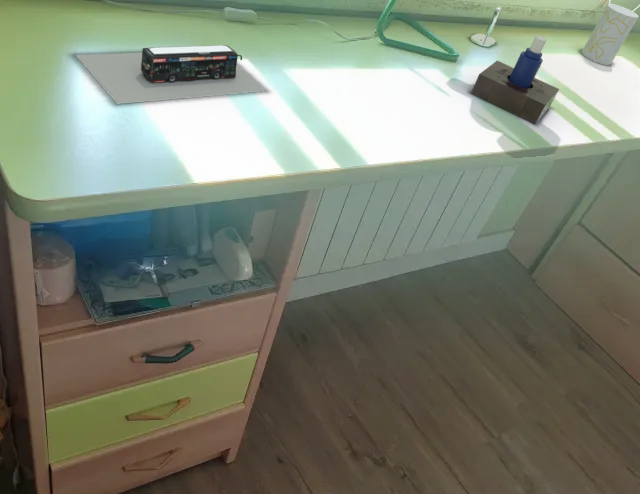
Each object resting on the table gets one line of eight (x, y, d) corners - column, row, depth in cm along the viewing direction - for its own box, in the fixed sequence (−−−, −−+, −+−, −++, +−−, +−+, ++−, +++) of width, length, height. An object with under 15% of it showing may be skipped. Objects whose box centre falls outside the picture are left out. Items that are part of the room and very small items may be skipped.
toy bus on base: (265, 91, 98) (270, 65, 95) (117, 103, 84) (117, 74, 81) (220, 49, 105) (223, 24, 102) (75, 55, 91) (74, 26, 88)
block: (549, 107, 125) (559, 89, 122) (535, 124, 117) (545, 105, 114) (488, 78, 128) (497, 60, 125) (470, 93, 120) (479, 73, 117)
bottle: (523, 102, 123) (554, 40, 115) (517, 108, 120) (549, 45, 112) (503, 92, 124) (533, 31, 116) (497, 98, 121) (527, 35, 113)
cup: (577, 52, 159) (603, 4, 150) (588, 49, 164) (614, 2, 156) (604, 66, 156) (632, 18, 148) (615, 62, 161) (642, 16, 153)
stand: (467, 39, 143) (480, 34, 149) (485, 48, 142) (497, 42, 147) (481, 5, 138) (493, 1, 144) (500, 14, 137) (512, 10, 142)
